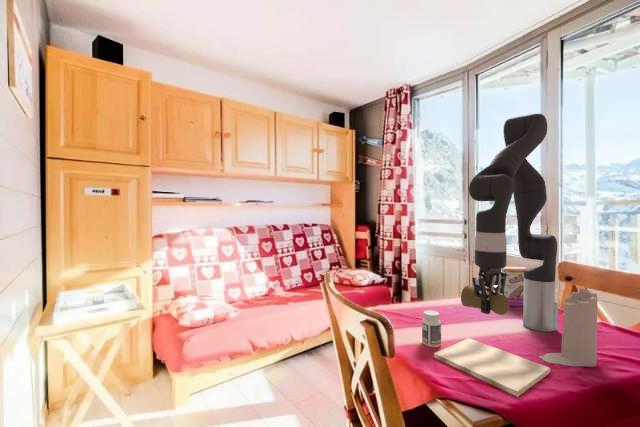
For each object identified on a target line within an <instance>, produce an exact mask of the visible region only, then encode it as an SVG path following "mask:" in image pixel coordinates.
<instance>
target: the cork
mask: <svg viewBox="0 0 640 427" xmlns="http://www.w3.org/2000/svg"><path fill="white" fill-rule="evenodd" d="M460 293H461V294H460V302H461V304H462V306H463V307H467V308H474V309H479V310H481V299H480V298H478V297H476V295H475V290H474V286H470V285H466V286H464V287H463V289H462V291H461V292H460ZM479 293H480V291H479ZM486 294H487V291H486ZM509 309H510V306H509V300H508V298H507V297H506V296H504V295H500V294H497V295H492V294H491V298H490V311H492V312H493V313H494V314H497V315H499V316H500V315H501V316H504V315H506V314H507V313H508V312H509Z"/></svg>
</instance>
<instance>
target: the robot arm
mask: <svg viewBox="0 0 640 427" xmlns="http://www.w3.org/2000/svg"><path fill="white" fill-rule="evenodd" d="M502 130H503V139H504V144H505V147H504V148H502V149H501V150H500V151H499V152H497V154H496V155H495V156H494V158H493V159H492V160H491V162H490V164H489V165H488V166H486V167H485V168H483V169H481V171H479V172H478V173H476V175H475V176H473V177H472V179H471V181H470V183H469V186H468V193H469V196H470V197H471V199H472V200H474V201H477V202H494V203H493V205H492V207H491V208H488V209H483V210H479V211H478V212H477V213H476V216H475V238H474V265H475V266H477V267H479V272H478V276H473V277H472V279H471V280H472V284H473V286H472V287H473V288H474V290H475V295H476V297H478V298H480V299H481V309H480V312H481V313H482V314H485V315H490V314H491V310H490V298H491V294H492V295H497V294H503V293H504V287H505V282H506V276H507V273H504V272H501V268H505V267H507V245H508V244H507V236H506V235H507V234H506V230H507V229H506V228H507V227H506V225H507V223H506V219H507V214H508V209H509V206H510V202H511V201H512V197H513V200H514V207H515V212H516V213H515V214H516V220H517V222H516V223H517V239H518V240H517V241H518V250H519V254H520V257H522V258H523V259H526V260H534V261H542V264H541V265H539V266H536V267H532V268H528V269H526V270H524V288H523V306H522V308H523V310H522V312H523V313H522V325H523V326H524V327H526V328H528V329H531V330H533V331H538V332H545V333H546V332H547V333H550V332H554V331H558V330H559V329H558V328H559V327H558V326H559V303H558V302H557V301H556V274H557V273H556V270H557V267H556V266H557V257H558V256H557V255H558V254H557V253H558V241H557V238H556V237H555V235H553V234H545V233H544V234H543V233H542V234H540V233H531V226H532V224H533V223H534V220H535V219H536V217H537V216H538V215H539V213H540V212H541V210H542V209H543V208H544V206H545V204H546V203H547V201H548V200H547V199H548V197H547V188H546V187H547V186H546V181H545V179H544V177H543V176H542V175H541V174H540V172H539V171H538V170H537V169H536V168H535V167H534V166H533V165H532V164H531V163H530V162H529V160H528V159H527V158H528V157H529V155H531V153H533V151H535V150H536V148H537V147H538V146H540V144H542V142H543V141H544V140H545V138H546V137H547V134H548V120H547V118H546V116H545V115H544V114H542V113H530V114H526V115H521V116H520V115H519V116H516V117H511V118H508V119H506V120H505V121H504V125H503V129H502ZM479 291H480V293H479ZM486 292H487V294H486Z"/></svg>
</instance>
